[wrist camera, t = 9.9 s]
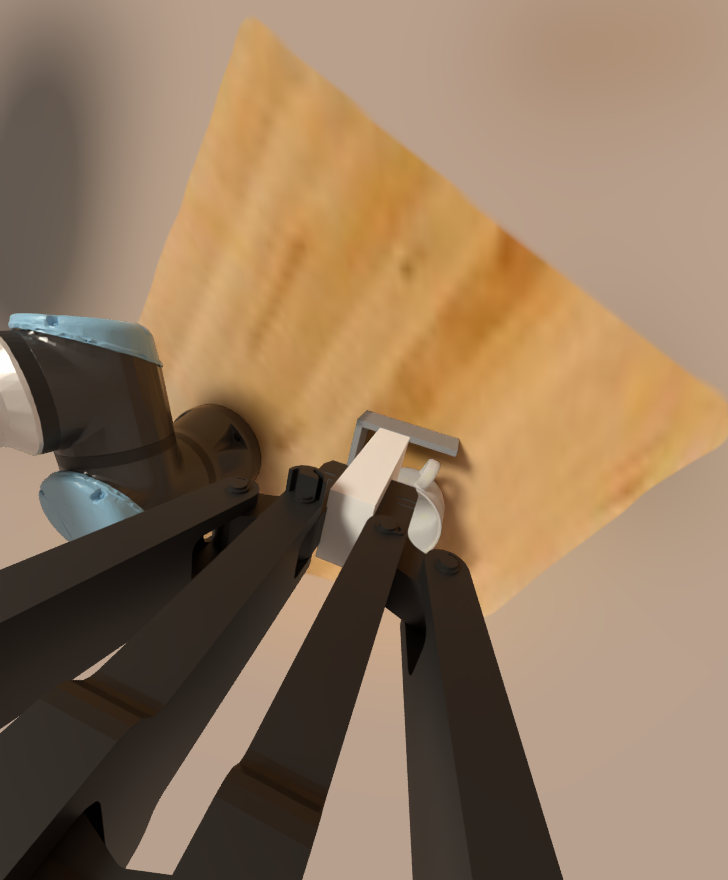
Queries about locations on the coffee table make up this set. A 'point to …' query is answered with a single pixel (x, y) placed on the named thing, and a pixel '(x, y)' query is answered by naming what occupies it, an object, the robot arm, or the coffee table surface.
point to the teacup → (425, 505)
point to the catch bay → (414, 432)
